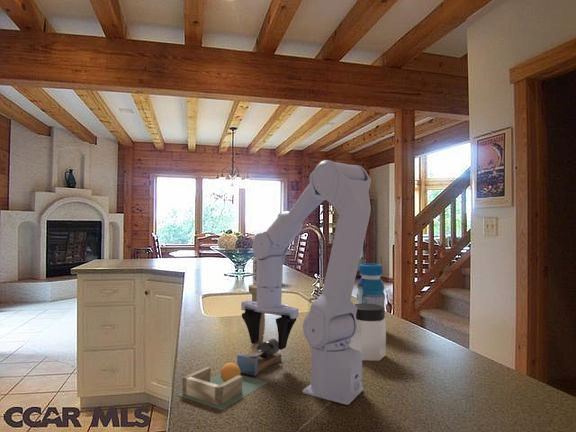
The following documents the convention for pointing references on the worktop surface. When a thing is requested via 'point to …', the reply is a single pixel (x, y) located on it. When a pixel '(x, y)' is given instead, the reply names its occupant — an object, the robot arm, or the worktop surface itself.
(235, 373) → the ball
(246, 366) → the dark grey round-headed part
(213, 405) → the mat
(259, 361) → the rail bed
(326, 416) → the worktop surface
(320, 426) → the worktop surface
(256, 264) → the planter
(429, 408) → the worktop surface
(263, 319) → the handle
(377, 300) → the beverage bottle
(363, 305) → the jar
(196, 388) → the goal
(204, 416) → the worktop surface
